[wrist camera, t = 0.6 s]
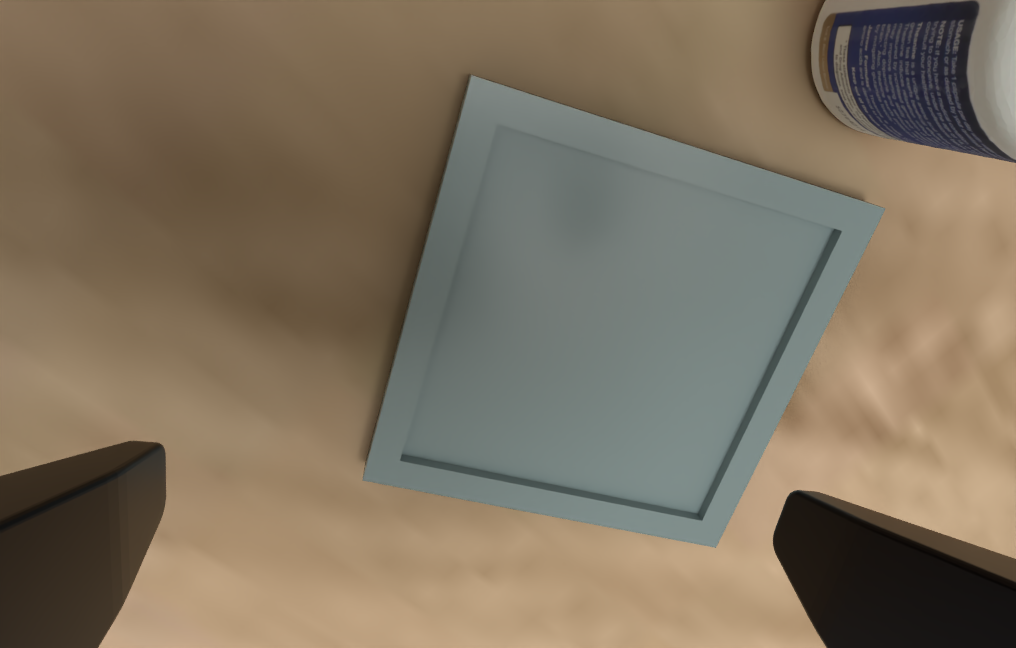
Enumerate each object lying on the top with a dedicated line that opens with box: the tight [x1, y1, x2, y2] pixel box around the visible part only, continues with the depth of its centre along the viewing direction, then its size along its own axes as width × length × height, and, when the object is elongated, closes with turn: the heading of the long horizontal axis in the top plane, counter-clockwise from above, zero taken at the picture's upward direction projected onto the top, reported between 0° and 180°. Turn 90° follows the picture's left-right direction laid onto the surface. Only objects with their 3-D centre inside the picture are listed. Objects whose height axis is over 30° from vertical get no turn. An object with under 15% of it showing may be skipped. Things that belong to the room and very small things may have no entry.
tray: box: [363, 74, 885, 548], centre depth 22 cm, size 13×13×1 cm
